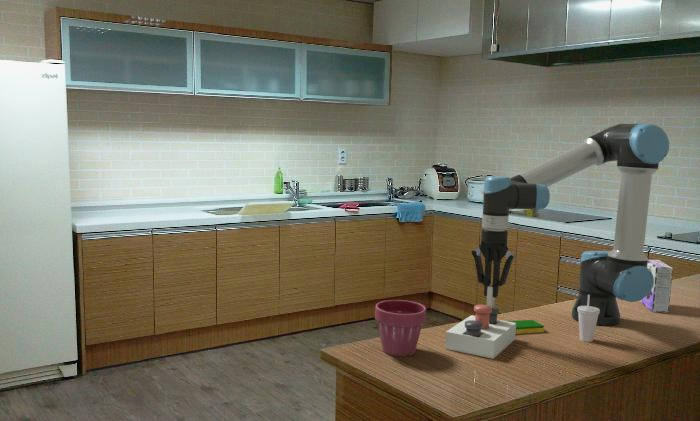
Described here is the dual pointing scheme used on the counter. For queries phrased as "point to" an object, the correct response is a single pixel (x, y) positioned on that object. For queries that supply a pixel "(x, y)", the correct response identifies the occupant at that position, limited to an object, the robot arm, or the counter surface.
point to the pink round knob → (483, 314)
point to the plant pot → (399, 325)
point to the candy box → (659, 287)
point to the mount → (481, 338)
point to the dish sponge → (528, 326)
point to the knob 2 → (494, 316)
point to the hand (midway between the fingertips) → (490, 307)
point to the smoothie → (587, 321)
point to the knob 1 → (473, 328)
